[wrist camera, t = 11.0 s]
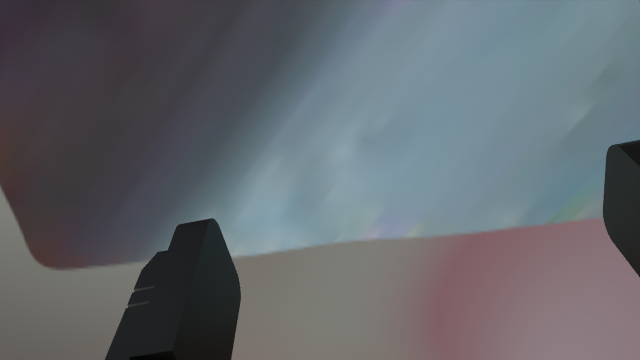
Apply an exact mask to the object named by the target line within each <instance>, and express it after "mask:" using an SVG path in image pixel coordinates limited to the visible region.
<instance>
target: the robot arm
mask: <svg viewBox="0 0 640 360" xmlns="http://www.w3.org/2000/svg"><path fill="white" fill-rule="evenodd" d="M603 217H604V223H605V226H606V229H607V232H608V234H609V236H610V238H611V240H612V241H613V243H614V244H615V245H616V247H617V248H618V249H619V251H620V252H621V253H622V254H623V256H624V257H625V258H626V260H627V261H628V262H629V264H630V265H631V266H632V268H633V269H634V270H635V271H636V273H637V274H638V275H639V277H640V140H637V141H631V142H626V143H621V144H615V145H612V146H610V147H609V149H608V151H607V156H606V170H605V185H604V201H603ZM134 290H135V292H134V293H132V295H131V297H130V300H129V302H128V308H126V309H125V312H124V314H123V317H122V319H121V322H120V324H119V326H118V329H117V331H116V334H115V336H114V339H113V341H112V344H111V346H110V348H109V351H108V353H107V356H106V358H105V360H231V356H232V350H233V344H234V338H235V331H236V326H237V320H238V313H239V308H240V300H241V292H240V283H239V278H238V274H237V271H236V269H235V266H234V264H233V261H232V258H231V256H230V253H229V251H228V248H227V245H226V243H225V240H224V238H223V235H222V232H221V230H220V227H219V225H218V223H217V222H216V220H215V219H213V218H211V219H206V220H201V221H195V222H190V223H185V224H179V225H178V226H177V227H176V229H175V232H174V235H173V238H172V240H171V243H170V246H169V249H168V250H167V251H161V252H157V254H156V255H155V256H154V257H153V258H152V259H151V260H150V261H149V263H148V264H147V265H146V266H145V267H144V268H143V269H142V271H141V273H140V276H139V278H138V280H137V283H136V285H135V288H134Z"/></svg>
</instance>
